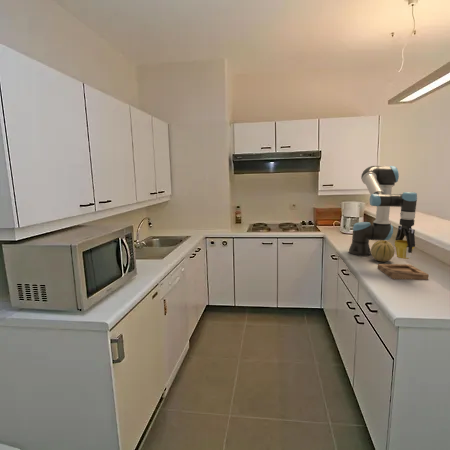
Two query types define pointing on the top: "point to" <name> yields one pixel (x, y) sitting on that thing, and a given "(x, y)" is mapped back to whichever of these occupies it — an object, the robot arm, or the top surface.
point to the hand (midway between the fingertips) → (403, 255)
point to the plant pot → (401, 248)
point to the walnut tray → (402, 271)
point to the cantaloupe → (382, 251)
